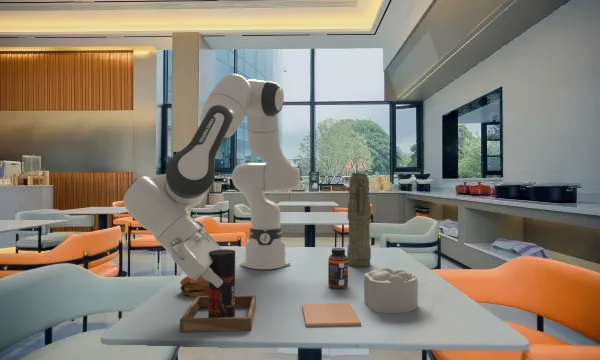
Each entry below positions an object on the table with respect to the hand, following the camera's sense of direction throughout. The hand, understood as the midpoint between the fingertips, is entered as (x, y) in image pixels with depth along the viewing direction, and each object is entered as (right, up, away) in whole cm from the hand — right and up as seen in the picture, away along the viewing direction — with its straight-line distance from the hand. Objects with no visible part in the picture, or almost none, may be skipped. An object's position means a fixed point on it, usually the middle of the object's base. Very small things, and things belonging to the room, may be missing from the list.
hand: (224, 278), depth 76 cm
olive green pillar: (+40, -10, +51) cm, 66 cm away
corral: (-1, -9, 0) cm, 9 cm away
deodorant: (-1, -9, 0) cm, 9 cm away
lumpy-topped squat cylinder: (+41, -9, +8) cm, 43 cm away
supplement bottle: (+29, -10, +24) cm, 39 cm away
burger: (-12, -10, +18) cm, 23 cm away
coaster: (+24, -9, +1) cm, 26 cm away
